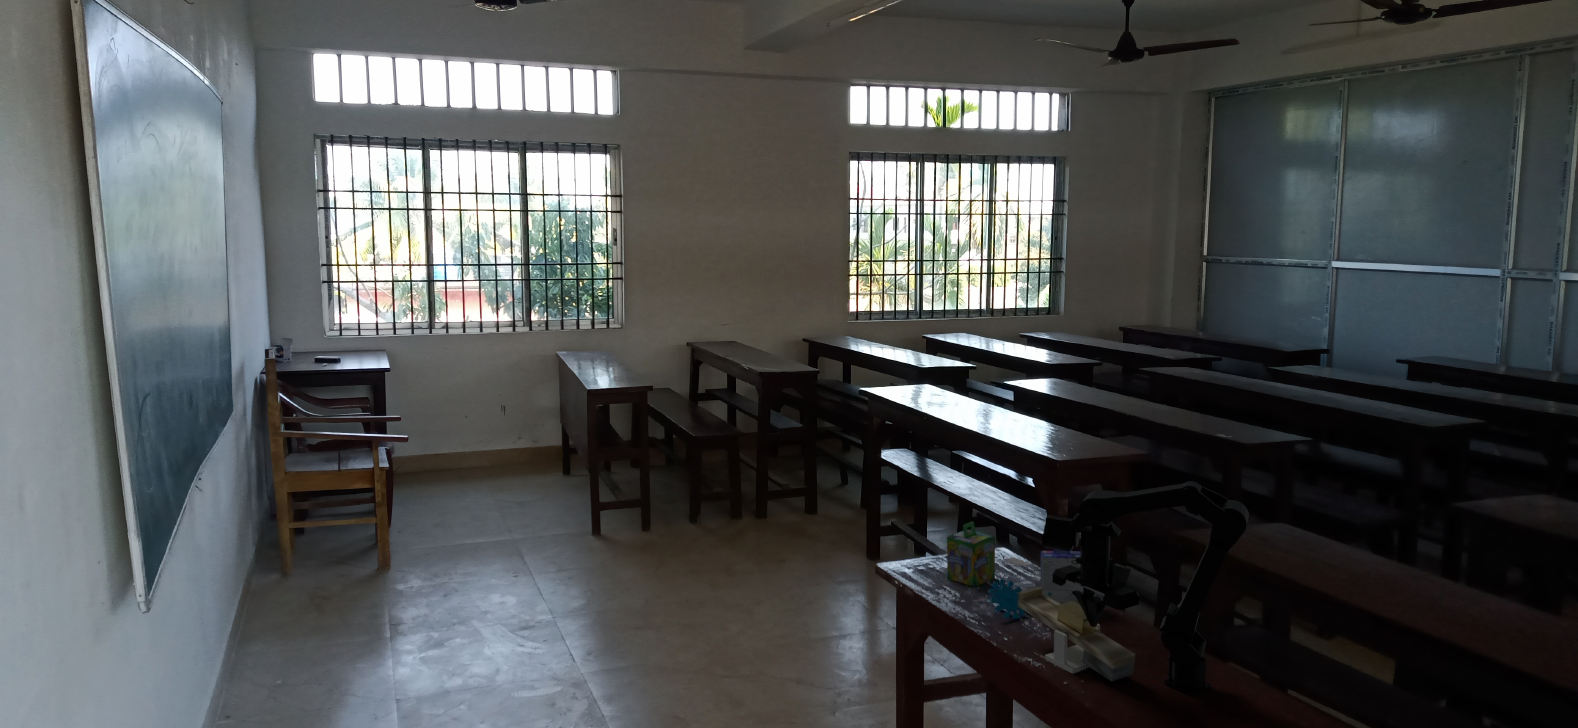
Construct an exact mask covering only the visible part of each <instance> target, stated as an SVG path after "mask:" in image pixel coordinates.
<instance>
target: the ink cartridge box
mask: <svg viewBox="0 0 1578 728" xmlns="http://www.w3.org/2000/svg"><path fill="white" fill-rule="evenodd" d="M1078 557H1081V550H1080V551H1077V550H1076V551H1073V550H1072V551H1065V550H1057V549H1053V550H1040V587H1042V588H1043V589H1042V594H1045V595H1046V596H1048V597H1049V598H1051V599H1053V600H1054V601H1056V602H1057V603H1059V604H1063V603H1066V602H1070V601H1074V602H1076V603H1077V604H1079V602H1078V600H1077V599H1076V597H1075V595H1073V594H1072V591H1075V585H1074V583H1073V582H1071V581H1068V580H1066V584H1064V585H1063V586H1060V585H1058V584H1055V583H1053V582H1052V579H1053V572H1054V571H1055V570H1056V569H1058V568H1062V567H1066V566H1069V565H1072V566H1075V567H1077V568H1080V564H1078V563H1076V558H1078ZM1079 605H1080V604H1079Z"/></svg>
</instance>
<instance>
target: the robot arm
mask: <svg viewBox="0 0 1578 728" xmlns="http://www.w3.org/2000/svg"><path fill="white" fill-rule="evenodd" d="M1184 506H1185V507H1186V506H1187V507H1189V508H1190V509H1191V510H1193V511H1194V512H1195V513H1196V514H1198V515H1199V516H1200V517H1201V518H1202V519H1204V520H1205V521H1206V522H1208V523H1209V524H1210V525H1212V526H1211V527H1212V528H1211V531H1210V535H1209V540H1208V543H1207V545H1206V547H1205V551H1204V553H1203V555H1202V557H1201V559H1200V561H1199V563H1198V565H1197V568H1196V569H1195V573H1194V574H1193V576H1192V580H1191V581H1190V583H1189V585H1188V588H1187V590H1186V591H1185V594H1184V597H1182V598H1183V599H1182V600H1181V601H1180V603H1178V604H1177V605H1176V604H1175V603H1173V602H1170V604H1169V607H1168V609H1167V612H1166V615H1165V616H1164V617H1163V619H1162V622H1161V624H1160V626H1159V632H1161V633H1160V634H1161V636H1160V641H1161V643H1162V646H1163V647H1164V648H1165V649H1167V651H1168V652H1169V655H1170V656H1169V657H1168V665H1167V666H1168V667H1167V671H1168V672H1167V677H1168V678H1165V679H1164V680H1163V683H1164V684H1166V685H1167V686H1169V687H1172V688H1173V689H1175V690H1178V691H1180V692H1182V693H1184V694H1186V695H1189V696H1191V695H1194V694H1196V693H1197V694H1198V693H1199V692H1202V691H1204V690H1207V689H1209V688H1210V689H1211V688H1212V684H1211V683H1209V682H1207V661H1208V660H1207V659H1206V658H1205V657H1204V652H1205V649H1206V644H1207V640H1206V639H1205V638H1204V636H1203V635H1201V634H1200V633H1199V632H1198V631H1197V625H1198V620H1199V616H1200V612H1201V610H1202V607H1203V606H1204V603H1205V601H1206V599H1207V598H1208V595H1209V593H1210V591H1211V589H1212V586H1213V584H1214V583H1215V580H1216V577H1217V575H1218V574H1219V571H1220V569H1221V568H1222V565H1223V563H1224V560H1225V558H1226V556H1227V554H1229V552H1230V551H1231V550H1232V548H1233V547H1234V546H1235V545H1236V544H1237V542H1238V541H1239V540H1240V539H1241V538H1242V536H1243V535H1244V533H1245V532H1246V530H1247V525H1248V520H1249V516H1250V514H1249V513H1250V512H1249V511H1248V508H1247V507H1246V505H1244V503H1242V502H1241V501H1239V500H1235V499H1229V498H1227V497H1226V496H1224V495H1222V494H1220V493H1218V492H1217V491H1214V490H1211V489H1209V488H1206V487H1205V486H1203V485H1201V484H1200V483H1198V482H1197V481H1194V480H1192V481H1191V480H1189V481H1186V482H1183V483H1178V484H1177V483H1176V484H1172V485H1165V486H1159V487H1153V488H1146V489H1141V490H1134V491H1128V492H1127V491H1125V492H1124V491H1123V492H1122V491H1115V490H1093V491H1091V492H1089V493H1088V494H1087V495H1086V497H1085V498H1083V501H1082V502H1081V503H1080V505H1079V508H1078V512H1076V514H1075V515H1074V516H1073V517H1072V518H1068V517H1059V516H1057V515H1053V514H1048V515H1047V516H1046V517H1045V523H1044V525H1043V526H1044V527H1043V531H1042V532H1043V533H1042V535H1041V542H1042V543H1041V544H1042V547H1043V548H1044V549H1050V550H1054V549H1057V550H1065V551H1073V550H1074V548H1078V547H1079V543H1080V552H1081V557H1078V558H1076V563H1078V564H1080V568H1077V567H1075V566H1072V565H1069V566H1066V567H1062V568H1058V569H1056V570H1055V571H1054V572H1053V579H1052V582H1053V583H1055V584H1058V585H1060V586H1063V585H1064V584H1066V580H1068V581H1071V582H1073V583H1074V585H1075V591H1072V594H1073V595H1075V597H1076V599H1077V600H1078V602H1079V604H1080V606H1081V607H1082V609H1083V611H1084V613H1085V615H1086V618H1087V620H1088V622H1089V624H1090V626H1092V627H1096V626H1097V624H1099V622H1100V619H1101V617H1102V614H1103V613H1104V610H1105V608H1106V606H1107V607H1110V608H1112V609H1114V610H1117V611H1122V610H1125V609H1129V608H1132V607H1136V606H1139V605H1140V594H1139V592H1138V591H1137V590H1135V589H1132V588H1129V587H1127V586H1125V585H1120V586H1117V587H1113V586H1111V585H1116V584H1117V582H1122V583H1124V584H1128V582H1129V578H1130V574H1131V571H1132V569H1131V568H1129V567H1127V566H1125V565H1122V564H1120V563H1117V562H1116V561H1115V559H1114V558H1113V557H1110V556H1111V555H1110V554H1111V538H1118V537H1119V535H1120V534H1121V531H1122V530H1121V529H1120V528H1119V527H1118V526H1117V525H1116V524H1115V522H1114V521H1116V520H1118V519H1120V518H1123V517H1124V516H1126V515H1133V514H1138V513H1144V512H1151V511H1157V510H1166V509H1172V508H1178V507H1179V508H1180V507H1184ZM1107 523H1108V524H1107Z"/></svg>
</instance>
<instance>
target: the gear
mask: <svg viewBox="0 0 1578 728" xmlns="http://www.w3.org/2000/svg"><path fill="white" fill-rule="evenodd" d="M1005 584H1006V580H1005V579H1002V578H1000V579H999V580H998V581H994V582H993V583H992V584H991V586H992V588H990V589H989V590H988V593H989V595H992V597H990V598H989V599H990V600H989V601H990V604H998V605H996V606H995V607H994V610H995V611H996V613H1000V612H1001V611H1002V610H1006V611H1005V612H1004V613H1003V614H1002V616H1003V617H1004V618H1006V619H1008V618H1010V613H1011V612H1012V613H1013V614H1012V615H1011V619H1012V620H1018V619H1019V617H1021V618H1022V617H1024V616H1025V615H1026V611H1024V610H1023V609H1021V608H1020V607H1018V598H1019V592H1021V591H1023V590H1022V587H1021V586H1017V587H1016V588H1014V589H1012V587H1013V586H1014V585H1015V583H1014V582H1013V581H1011V580H1009V581H1008V582H1007V586H1005ZM999 585H1000V587H999ZM1017 610H1018V612H1017Z"/></svg>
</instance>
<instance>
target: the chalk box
mask: <svg viewBox="0 0 1578 728" xmlns="http://www.w3.org/2000/svg"><path fill="white" fill-rule="evenodd" d="M968 528H970V529H968ZM946 551H947V553H946V559H947V560H946V561H947V563H946V566H947V569H946V570H947V580H949V581H953V582H956V583H959V584H963V585H966V586H970V587H974V588H976V587H978V586H980V585H983V584H985V583H987V582H989V581H990V582H991V581H992V580H994V579H995V578H996V537H995V536H993V535H990V534H986V533H985V532H981V531H977V529H976V527H975V523H974V521H973V520H972V521H970V522H969V521H968V522H967V523H966V522H965V523H964V524H963V525H962V531H961V530H960V531H958V532H955V533H953V534H951V535H948V536H946Z"/></svg>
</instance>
